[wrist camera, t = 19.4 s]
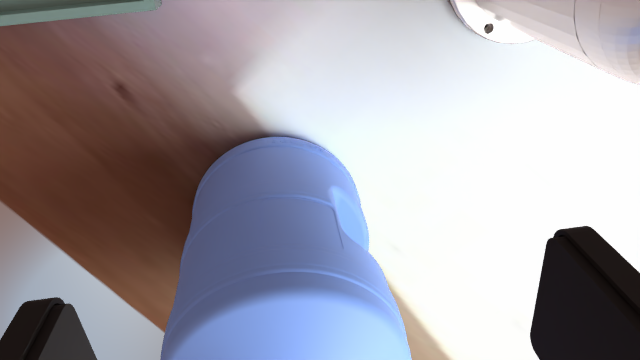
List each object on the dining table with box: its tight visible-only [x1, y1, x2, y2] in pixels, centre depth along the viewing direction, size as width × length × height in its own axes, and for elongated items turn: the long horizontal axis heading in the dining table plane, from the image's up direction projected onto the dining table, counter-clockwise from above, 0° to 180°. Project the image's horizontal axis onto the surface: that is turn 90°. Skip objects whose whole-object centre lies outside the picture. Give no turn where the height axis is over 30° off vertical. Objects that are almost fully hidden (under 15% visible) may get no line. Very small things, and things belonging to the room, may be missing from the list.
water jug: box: [161, 137, 411, 360], centre depth 35 cm, size 16×16×28 cm
